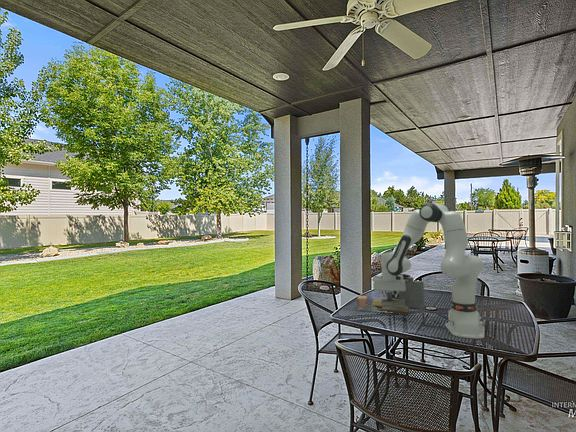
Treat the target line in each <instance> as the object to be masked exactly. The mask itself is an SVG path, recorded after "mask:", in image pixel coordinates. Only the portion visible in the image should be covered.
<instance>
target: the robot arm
mask: <svg viewBox="0 0 576 432" xmlns="http://www.w3.org/2000/svg"><path fill="white" fill-rule="evenodd" d="M429 223H439V224H440V225H441V228H442V232H443V237H444V242H445V243H444V244H445V254H444V258H443V260H441V262H440V266H439V267H440V270H441V273H442V274H443V275H444V276H445V277H447V278H454V279H455V281H454V282H453V284H452V285H451V300H450V309H449V310H448V322H445V324H444V326H445V327H446V329H447V330H448V332H450V333H451V334H452V335H453V336H454V337H459V338H466V339H478V340H480V339H485V330H486V329H485V326H483V325H484V322H483V321H481V320H482V317H481V316H480V312H479V311H478V309H477V307H478V305H477V303H476V286H477V285H476V284H477V281H478V277H479V275H480V273H481V272H482V271H483V269H484V267H485V265H484V262H483V259H482V258H481V257H479V256H478V255H473V254H466V248H467V246H468V245H469V239H468V234H467V230H466V226H465V222H464V220H463V218H462V216H461V213H460V212H458V211H455V210H451V209H450V208H449V206H448V205H445V204H443V203H437V202H427V203H424V204H423V205H422V206H421V207H420V209H414V210H413V211H412V212H411V214H410V216H409V218H408V220H407V222H406V225H405V226H404V229H403V233H402V235H401V237H400V239H399V242H398V244H397V246H396V248H395V249H394V251H393V250H391V251H385V252H383V253H382V254H381V258H380V260H381V261H380V262H381V275H374V276H373V277H372V282H373V290H374V291H380V294H381V297H382V298H385V297H386V296H385V295H386V293H384V291H387V292H394V291H396V292H397V294H394V299H396V298H397V295H398V293H399V291H405V290H406V285H405V281H404V280H403V275H400V274H405V272H408V271H409V270H410V269H411V265H412V264H411V261H410V260H409V258H407V257H406V254H407V253H408V250H409V249H410V247H411V246H413V245H414V244H415V243H417V242H418V241H420V240H421V238H422V237H423V235H424V233H425V231H426V228H427V226H428V224H429ZM465 254H466V255H465ZM397 299H398V298H397Z"/></svg>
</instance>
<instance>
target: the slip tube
mask: <svg viewBox="0 0 576 432" xmlns="http://www.w3.org/2000/svg"><path fill="white" fill-rule="evenodd" d="M386 299H387V300H388V301H392V299H393V291H387V292H386ZM371 302H372V303H371V304H373V306H381V307H382V299H372V301H371Z"/></svg>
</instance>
